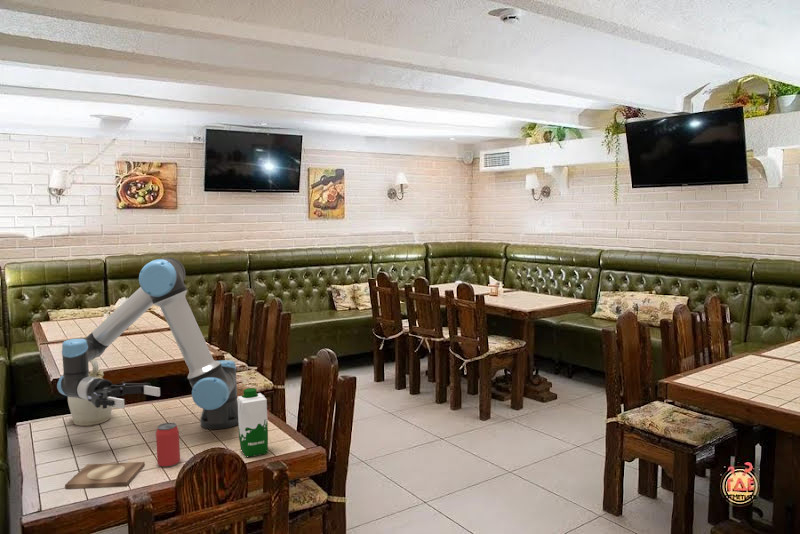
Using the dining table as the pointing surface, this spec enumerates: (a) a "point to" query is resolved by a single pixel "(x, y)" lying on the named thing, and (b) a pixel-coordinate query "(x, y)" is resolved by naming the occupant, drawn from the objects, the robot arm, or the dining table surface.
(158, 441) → the beer can
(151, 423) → the dining table surface
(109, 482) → the serving board
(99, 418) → the jug
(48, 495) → the dining table surface
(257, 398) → the milk carton
